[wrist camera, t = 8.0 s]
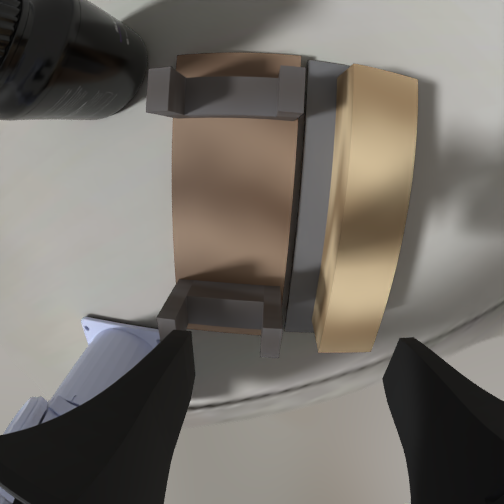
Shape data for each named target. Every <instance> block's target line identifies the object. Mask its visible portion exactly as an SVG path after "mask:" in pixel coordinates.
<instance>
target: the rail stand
mask: <svg viewBox="0 0 504 504" xmlns="http://www.w3.org/2000/svg"><path fill="white" fill-rule="evenodd" d="M305 71H306V68H304V67H301V56H296V55H284V54H270V53H201V54H186V55H177V63H176V70H175V69H173V68H172V67H162V68H153V69H149V73H148V85H147V101H146V112H147V113H153V114H158V115H163V116H167V117H172V118H173V131H172V217H173V243H174V261H175V277H176V285H175V287H174V289H173V290H172V292H171V294H170V295H169V297H168V299H167V301H166V302H165V304H164V306H163V307H162V309H161V311H160V313H159V314H158V316H157V323H158V330H159V336H160V342H161V341H162V340H163V339H164V338H165V337H166V336H167V335H168V334H169V333H170V332H171V331H172V330H182V331H186V329H195V330H204V331H214V332H225V333H237V334H250V335H261V351H260V357H268V358H279V353H280V346H281V339H282V332H283V322H282V299H283V290H284V282H285V272H286V263H287V253H288V243H289V233H290V222H291V211H292V199H293V187H294V174H295V161H296V146H297V131H298V117H300V116H301V115H302V114H303V113H304V95H305Z"/></svg>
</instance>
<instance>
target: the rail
mask: <svg viewBox="0 0 504 504" xmlns="http://www.w3.org/2000/svg"><path fill="white" fill-rule="evenodd" d="M417 116H418V80H417V79H414V78H411V77H407V76H404V75H400V74H397V73H393V72H389V71H385V70H381V69H377V68H373V67H368V66H364V65H359V64H353V65H351V66H350V67H349V68H348V69H347V70H346V71H344V72H343V73H342V74H341V75H340V76H339V77H337V98H336V120H335V137H334V152H333V164H332V176H331V187H330V197H329V206H328V215H327V223H326V231H325V239H324V247H323V254H322V261H321V268H320V274H319V281H318V287H317V293H316V299H315V305H314V311H313V316H312V324H313V329H314V334H315V338H316V343H317V348H318V353H349V352H371V350H372V347H373V344H374V342H375V339H376V336H377V333H378V330H379V327H380V323H381V320H382V317H383V314H384V310H385V307H386V304H387V300H388V297H389V293H390V289H391V286H392V282H393V278H394V274H395V270H396V266H397V262H398V257H399V253H400V248H401V244H402V239H403V234H404V229H405V223H406V218H407V212H408V206H409V200H410V193H411V186H412V178H413V169H414V160H415V149H416V135H417Z"/></svg>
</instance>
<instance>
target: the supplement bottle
mask: <svg viewBox="0 0 504 504" xmlns="http://www.w3.org/2000/svg"><path fill="white" fill-rule="evenodd" d="M146 69H147V50H146V47H145V44H144V42H143V40H142V39H141V38H140V36H139V35H138V34H137V33H135V32H134V31H133V30H132V29H130V28H129V27H128V26H126V25H125V24H123V23H122V22H120V21H119V20H117V19H116V18H114V17H113V16H111V15H110V14H108V13H107V12H105V11H103V10H102V9H100V8H99V7H97V6H96V5H94V4H92V3H91V2H89V1H87V0H0V120H35V119H67V120H97V119H102V118H106V117H108V116H110V115H113V114H114V113H116V112H118V111H119V110H120V109H122V108H123V107H124V106H125V105H126V104H127V103H128V102H129V101H130V100H131V99H132V98H133V97H134V95H135V94H136V92H137V91H138V89H139V87H140V86H141V84H142V81H143V79H144V76H145V73H146Z"/></svg>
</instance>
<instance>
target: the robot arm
mask: <svg viewBox="0 0 504 504" xmlns="http://www.w3.org/2000/svg"><path fill="white" fill-rule="evenodd" d="M81 323H82V326H83V329H84V332H85V336H86V339H87V342H88V347H87V348H86V350H85V351H84V352H83V354H82V355H81V356H80V358H79V359H78V361H77V362H76V363H75V365H74V366H73V368H72V369H71V370H70V372H69V373H68V375H67V376H66V378H65V379H64V380H63V382H62V383H61V385H60V386H59V388H58V389H57V391H56V392H55V394H54V395H53V397H52V398H51V400H49V401H48V402H47V401H46V400H45V399H44V398H43V397H41V396H40V397H30V398H29V399H28V401H27V402H26V403H25V404H24V405H23V406H22V407H21V409H20V410H19V411H18V413H17V414H16V415H15V417H14V418H13V420H12V421H11V423H10V424H9V426H8V427H7V429H6V430H5V432H4V434H3V435H0V504H164V498H165V492H166V486H167V480H168V474H169V469H170V464H171V460H172V456H173V452H174V449H175V445H176V443H177V440H178V437H179V433H180V430H181V427H182V424H183V421H184V418H185V415H186V412H187V409H188V406H189V403H190V400H191V395H192V390H193V384H194V379H195V367H194V357H193V346H192V334H191V331H182V330H172V331H171V332H170V333H169V334H168V335H167V336H166V337H165V338H164V339H163V340H162V341H161V342H160V341H159V340H158V339H160V336H159V330H158V329H154V328H147V327H141V326H135V325H128V324H123V323H117V322H111V321H106V320H101V319H95V318H90V317H83V318H82V320H81ZM87 326H88V327H89V328H88V327H87ZM383 384H384V389H385V394H386V398H387V402H388V405H389V408H390V411H391V414H392V417H393V420H394V423H395V426H396V428H397V431H398V434H399V437H400V440H401V443H402V446H403V449H404V453H405V457H406V462H407V468H408V474H409V483H410V493H411V504H504V401H502V400H500V399H498V398H497V397H495V396H493V395H492V394H490V393H488V392H486V391H485V390H483V389H482V388H480V387H479V386H477V385H476V384H474V383H473V382H472V381H470V380H469V379H467V378H466V377H465V376H463V375H462V374H461V373H459V372H458V371H457V370H455V369H454V368H453V367H451V366H450V365H449V364H448V363H446V362H445V361H444V360H443V359H442V358H440V357H439V356H438V355H437V354H435V353H434V352H433V351H431V350H430V349H429V348H428V347H426V346H425V345H424V344H422V343H421V342H419V341H418V340H417V339H415V338H413V337H412V338H399V341H398V343H397V346H396V348H395V351H394V353H393V356H392V358H391V360H390V363H389V365H388V367H387V370H386V372H385V374H384V376H383Z"/></svg>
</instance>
